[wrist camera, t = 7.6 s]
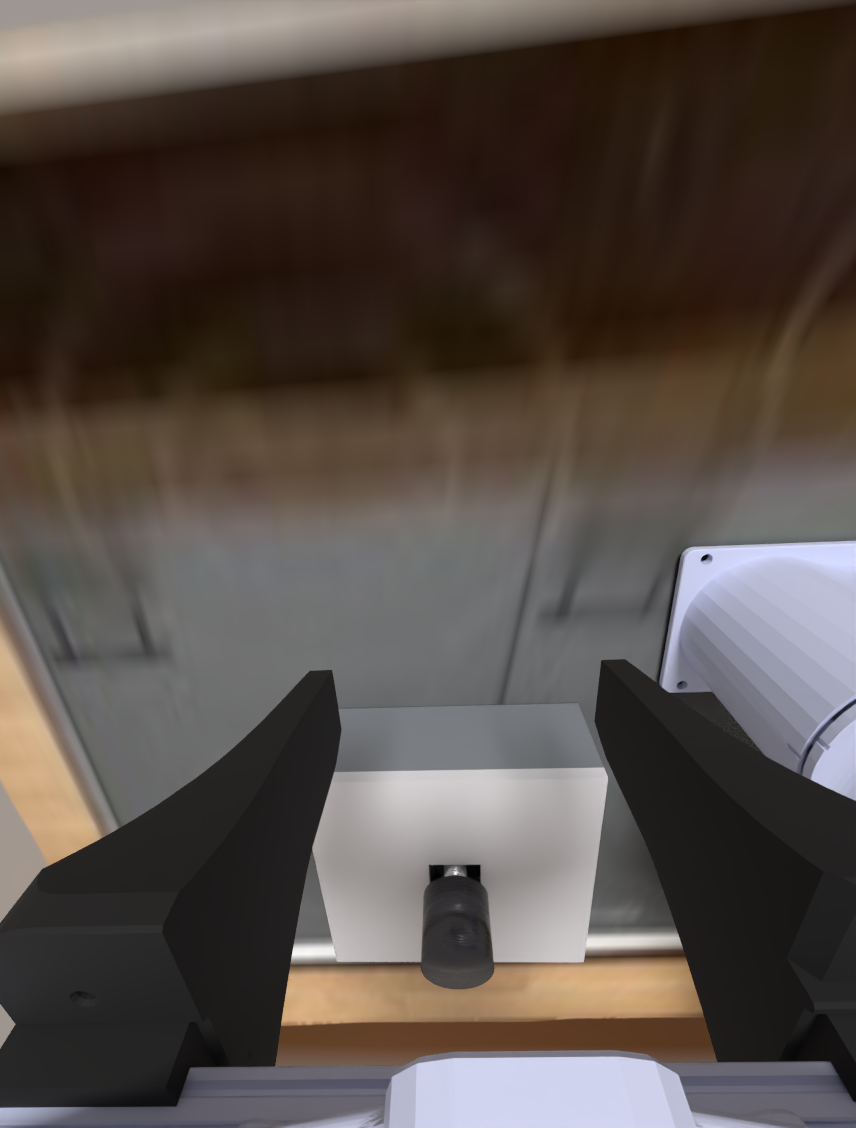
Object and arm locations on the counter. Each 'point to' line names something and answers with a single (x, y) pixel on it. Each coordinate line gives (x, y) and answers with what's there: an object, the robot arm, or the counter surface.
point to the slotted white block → (462, 826)
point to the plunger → (456, 928)
